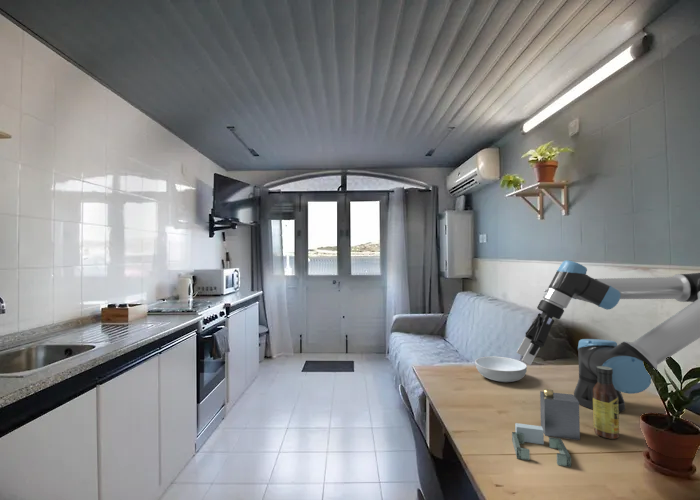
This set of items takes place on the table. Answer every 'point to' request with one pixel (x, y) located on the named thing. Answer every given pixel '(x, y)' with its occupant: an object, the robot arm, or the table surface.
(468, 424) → the table surface
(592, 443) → the table surface
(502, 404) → the table surface
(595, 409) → the sauce bottle
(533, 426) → the light grey rectangular block
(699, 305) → the robot arm
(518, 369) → the serving bowl
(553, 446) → the socket
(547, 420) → the grey box with knob
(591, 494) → the table surface
